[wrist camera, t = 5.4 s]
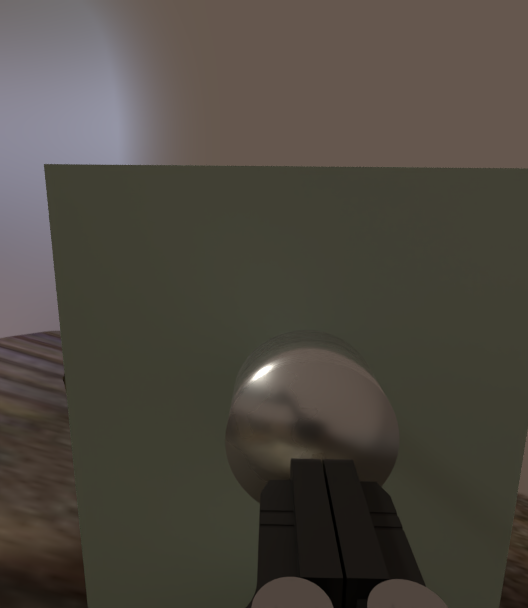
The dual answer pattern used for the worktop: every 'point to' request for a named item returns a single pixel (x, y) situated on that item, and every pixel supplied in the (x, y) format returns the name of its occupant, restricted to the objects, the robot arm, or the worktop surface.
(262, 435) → the upper knob
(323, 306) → the block
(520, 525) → the worktop surface
